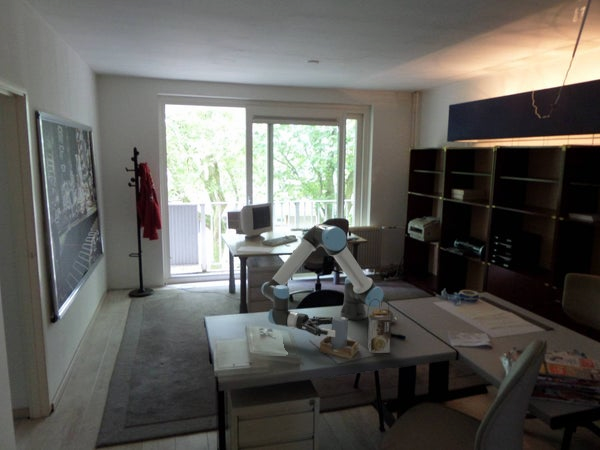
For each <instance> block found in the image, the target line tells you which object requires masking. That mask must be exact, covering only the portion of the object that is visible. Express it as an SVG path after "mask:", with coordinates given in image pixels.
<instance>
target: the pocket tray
mask: <svg viewBox="0 0 600 450" xmlns="http://www.w3.org/2000/svg"><path fill="white" fill-rule="evenodd" d="M319 343H320V344H319V350H318V352H319V353H324V354H329V355H333V356H337V357H341V358H346V359H353V357H354V356H355V355H356V354H357V353H358V352H359V342H358V341H357V340H353V339H348V338H347V346H348V347H350V348H345V347H340V346H339V347H338V350H335V349H333V345H331V344H329V343H331V336H327V335H326V337H324V338H323V339H322V340H321V341H320V342H319Z"/></svg>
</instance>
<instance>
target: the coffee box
mask: <svg viewBox="0 0 600 450" xmlns="http://www.w3.org/2000/svg"><path fill="white" fill-rule="evenodd" d="M389 316H390V315H389ZM389 316H388V315H372V314H371V315H369V314H368V337H367V341H368V343H367V349H368V351H369V353H371V354H382V353H383V354H385V353H386V354H390V350H391V333H390V330H391V331H392V329H391V326H392V323H391V322H392V320H391V319H392V318H390V317H389Z"/></svg>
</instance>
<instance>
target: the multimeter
mask: <svg viewBox="0 0 600 450" xmlns="http://www.w3.org/2000/svg"><path fill="white" fill-rule="evenodd" d="M382 299H384V300H386V301H387V303H388V305H390V303H389V300H388V299H387V298H385V297H383V298H382ZM373 300H377V299H373ZM378 301H379V300H378ZM370 303H371V302H370ZM382 304H383V300H381V303H380V302H379V305H378V310H377V311H376V310H374V311H372V312H371V313H372V314H371V315H388V316H390V315H389V313H390V311H389V310H390V306H388V308H387V309H388V311H386V310H383V309H382V308H383V307H382ZM369 306H370V304H369ZM369 310H370V307H368V308H367V311H369ZM391 331H392V329H391V330H390V334H392V332H391ZM366 332H367V338H368V337H369V313H367V317H366ZM393 338H394V336H393V337H392V336H391V339H393Z"/></svg>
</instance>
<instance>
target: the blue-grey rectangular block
mask: <svg viewBox="0 0 600 450" xmlns="http://www.w3.org/2000/svg"><path fill="white" fill-rule="evenodd" d="M348 328H349V319H348V318H345V317H342V316H337V315H336V316H334V317H333V319H332V324H331V330H334V331H335V337H332V336H331V343H329V344H331V345H333V349H335V350H338V347H339V346H340V347H345V348H350V347H348V346H347V339H348V331H349V330H348Z"/></svg>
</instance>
